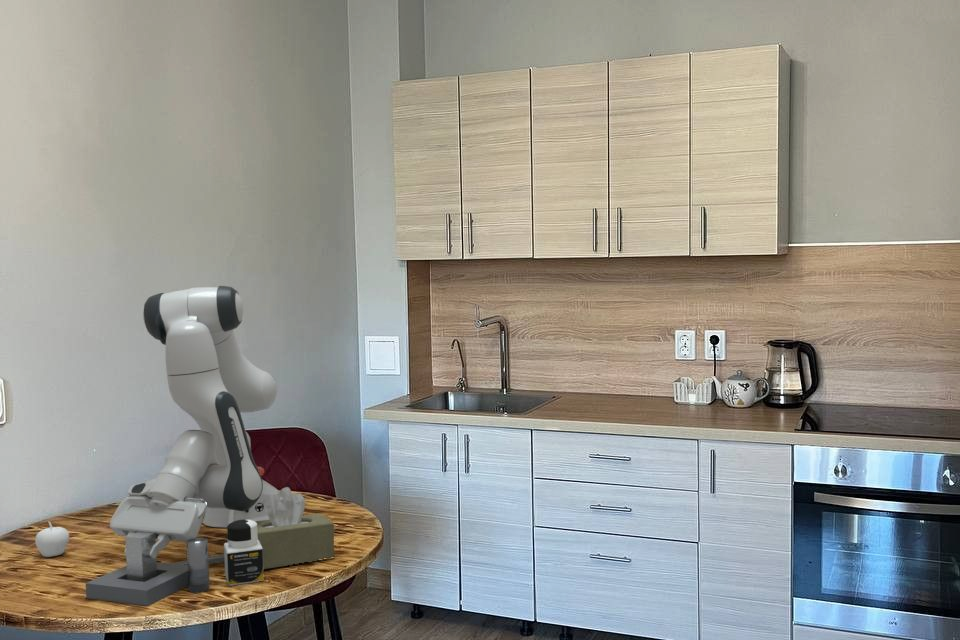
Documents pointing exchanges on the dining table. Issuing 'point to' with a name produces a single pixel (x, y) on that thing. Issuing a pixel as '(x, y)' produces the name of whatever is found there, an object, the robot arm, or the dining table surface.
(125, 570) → the socket block
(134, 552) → the square bit
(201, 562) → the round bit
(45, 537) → the plain white apple
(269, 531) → the tissue box
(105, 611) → the dining table surface
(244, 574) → the medicine bottle
